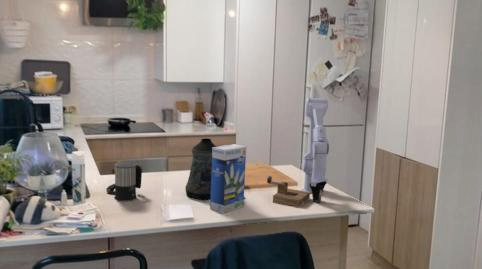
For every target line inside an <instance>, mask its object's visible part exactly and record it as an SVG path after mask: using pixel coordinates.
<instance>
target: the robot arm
mask: <svg viewBox="0 0 482 269" xmlns="http://www.w3.org/2000/svg"><path fill="white" fill-rule="evenodd" d="M304 108H305V110H304V111H305V116H306V117H308V119H309V137H308V139H309V140H308V152H306V153H305V154H304V155H303V157H302V163H301V164H302V167H301V168H302V172H304V183H303V189H301V190H300V191H305V192H310V194H312V196H311V197H312V200H313V199H314V200H318V198H319V194H320V190H321V189H322V194H321V197H322V195H323V191H324V189H325V186H326V185H327V183H328V178H326V172H327V159H328V157H327V156H328V155H329V152H330V144H329V140H328V139H327V129H326V128H325V126H324V117H325V116H326V114H327V112H328V110H329V100H328V99H327V97H325V98H323V97H321V98H318V97H316V98H315V97H307V98H306V99H305V107H304Z"/></svg>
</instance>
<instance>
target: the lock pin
mask: <svg viewBox="0 0 482 269" xmlns="http://www.w3.org/2000/svg"><path fill="white" fill-rule="evenodd" d="M272 178H273V176H271V175H269V176H268V175H267V177H266V182H267V184H270V185H274V186H278V183H281V184H284V183H282V182H281V181H275V180H272Z"/></svg>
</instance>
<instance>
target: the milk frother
mask: <svg viewBox="0 0 482 269" xmlns="http://www.w3.org/2000/svg"><path fill="white" fill-rule="evenodd" d="M113 166H114V183H113V184H111V185H109V186H107V188H106V192H107V193H108V194H112V195H114V197H113V198H114V200H117V201H120V202H121V201H122V202H126V201H127V202H128V201H133V200H135V199H136V198H137V191H136V190H137V189H141V188H142V174H143V168H142V167H141V165H139V164H137V163H136V162H133V161H120V162H116V163H115V164H114V165H113Z"/></svg>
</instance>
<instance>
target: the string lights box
mask: <svg viewBox="0 0 482 269" xmlns="http://www.w3.org/2000/svg"><path fill="white" fill-rule="evenodd" d="M246 157H247V145H246V146H245V145H241V144H236V143H233V144H224V145H220V146H216V147H213V148H212V173H211V199H210V200H209V209H210V210H212V211H215V212H218V213H219V214H220V213H221V214H224V213H228V212H230V211H235V210H237V209H241V208H244V204H245V203H244V201H245V186H246V184H245V182H246V181H245V180H246V162H247V161H246V160H247V158H246Z"/></svg>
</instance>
